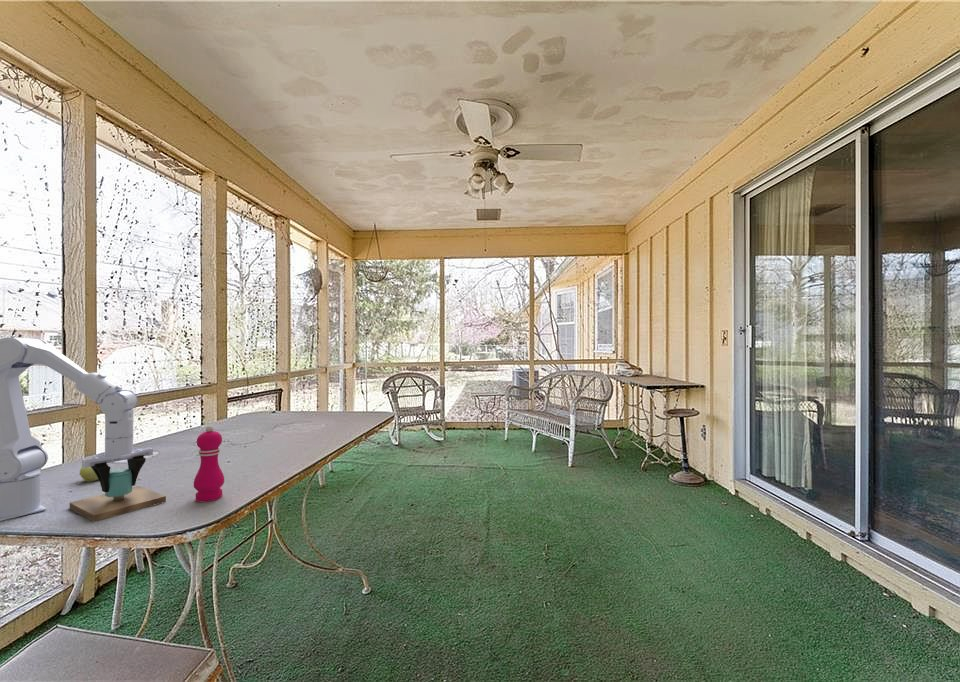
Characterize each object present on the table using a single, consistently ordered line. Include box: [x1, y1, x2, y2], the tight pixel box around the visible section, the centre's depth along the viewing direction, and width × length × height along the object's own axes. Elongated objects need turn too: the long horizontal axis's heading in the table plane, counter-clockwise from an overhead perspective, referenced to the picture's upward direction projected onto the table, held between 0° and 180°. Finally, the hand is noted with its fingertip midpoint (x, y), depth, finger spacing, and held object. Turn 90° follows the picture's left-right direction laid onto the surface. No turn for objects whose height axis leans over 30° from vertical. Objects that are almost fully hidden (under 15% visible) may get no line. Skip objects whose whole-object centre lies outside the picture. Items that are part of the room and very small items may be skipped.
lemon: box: [79, 466, 99, 483], centre depth 133 cm, size 6×7×7 cm
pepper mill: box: [193, 425, 225, 503], centre depth 118 cm, size 7×7×20 cm
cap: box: [104, 468, 133, 497], centre depth 112 cm, size 5×5×6 cm
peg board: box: [69, 485, 167, 522], centre depth 112 cm, size 15×16×6 cm
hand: (118, 488), depth 112 cm, fingers closed on cap, 5 cm apart
